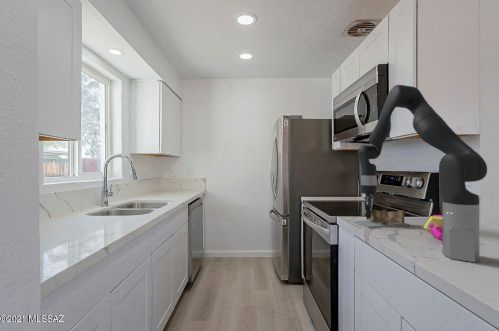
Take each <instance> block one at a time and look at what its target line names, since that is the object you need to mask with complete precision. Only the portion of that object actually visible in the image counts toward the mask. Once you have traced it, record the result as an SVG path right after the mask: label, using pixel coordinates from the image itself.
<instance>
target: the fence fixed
mask: <svg viewBox="0 0 499 331" xmlns="http://www.w3.org/2000/svg"><path fill="white" fill-rule="evenodd" d="M381 211H382V224H383V225H386V220H387V223H405V210H403V209H401V210H398V211H387V209H381Z"/></svg>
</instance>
